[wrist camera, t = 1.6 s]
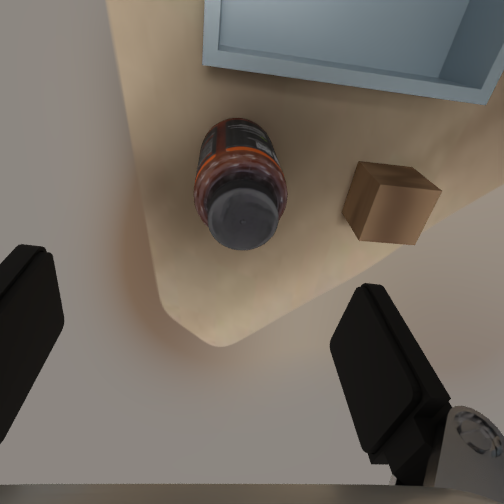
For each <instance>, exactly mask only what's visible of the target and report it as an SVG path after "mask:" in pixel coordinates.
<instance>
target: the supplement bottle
mask: <svg viewBox="0 0 504 504" xmlns="http://www.w3.org/2000/svg"><path fill="white" fill-rule="evenodd" d="M287 195H288V193H287V186H286V181H285V178H284V175H283V172H282V170H281V167H280V165H279V162H278V159H277V157H276V154H275V151H274V149H273V146H272V143H271V141H270V139H269V137H268V136H267V134H266V132H265V131H264V130H263V129H262V128H261V127H260V126H259V125H257V124H256V123H254V122H252V121H249V120H247V119H242V118H232V119H227V120H224V121H222V122H220V123H218V124H216V125H215V126H214V127H212V128H211V130H210V131H209V132H208V133H207V135H206V136H205V138H204V141H203V143H202V147H201V151H200V157H199V162H198V168H197V174H196V179H195V186H194V203H195V207H196V210H197V212H198V214H199V216H200V218H201V220H202V221H203V222H204V224H205V225H207V226H208V227H209V230H210V232H211V234H212V235H213V237H214V238H215V239H216V240H217V241H218V242H219V243H221V244H222V245H224V246H225V247H228V248H231V249H235V250H250V249H254V248H257V247H259V246H261V245H263V244H265V243H266V242H267V241H268V240H269V239H270V238H271V237H272V236H273V235H274V233H275V231H276V228H277V226H278V221H279V220H280V218H281V216H282V214H283V212H284V210H285V207H286V203H287Z"/></svg>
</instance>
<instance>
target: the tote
mask: <svg viewBox="0 0 504 504" xmlns="http://www.w3.org/2000/svg"><path fill="white" fill-rule="evenodd" d="M202 65H206V66H213V67H220V68H227V69H234V70H241V71H248V72H255V73H262V74H269V75H276V76H283V77H290V78H297V79H304V80H311V81H319V82H326V83H333V84H340V85H347V86H354V87H361V88H368V89H375V90H382V91H389V92H396V93H403V94H410V95H417V96H424V97H431V98H438V99H445V100H452V101H459V102H466V103H473V104H480V105H486V104H487V102H488V100H489V98H490V96H491V94H492V92H493V90H494V88H495V86H496V84H497V82H498V80H499V78H500V76H501V74H502V72H503V70H504V0H205V9H204V35H203V61H202Z"/></svg>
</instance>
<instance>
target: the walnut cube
mask: <svg viewBox="0 0 504 504" xmlns="http://www.w3.org/2000/svg"><path fill="white" fill-rule="evenodd" d="M441 192H442V191H441V190H440V189H439V188H438V187H436V186H435V185H434V184H433V183H431V182H430V181H429V180H428V179H426V178H425V177H424V176H423V175H421V174H420V173H419V172H418V171H416V170H415V169H414V168H413V167H406V166H397V165H388V164H379V163H370V162H362V161H359V162H358V165H357V168H356V171H355V174H354V177H353V180H352V183H351V186H350V189H349V192H348V195H347V199H346V202H345V205H344V208H343V211H342V213H343V215H344V216H345V218H346V220H347V221H348V223H349V225H350V226H351V228H352V230H353V232H354V233H355V235H356V237H357V238H358V240H359V241H370V242H382V243H394V244H406V245H415V244H416V242H417V240H418V238H419V236H420V234H421V232H422V230H423V228H424V226H425V224H426V222H427V220H428V218H429V216H430V214H431V212H432V210H433V208H434V206H435V204H436V202H437V200H438V198H439V196H440V194H441Z"/></svg>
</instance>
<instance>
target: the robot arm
mask: <svg viewBox="0 0 504 504" xmlns="http://www.w3.org/2000/svg"><path fill="white" fill-rule="evenodd" d="M63 326H64V314H63V309H62V303H61V298H60V292H59V287H58V282H57V276H56V270H55V265H54V260H53V255H52V254H51V253H49V252H47V251H46V249H45V248H44V247H41V246H32V245H24V244H21V245H18V246H17V247H16V248H15V249H14V250H13V251H12V252H11V253H10V254H9V255H8V256H7V257H6V258H5V260H4V261H3V262H2V263H1V264H0V444H1V442H2V441H3V440H4V438H5V436H6V434H7V432H8V431H9V429H10V427H11V425H12V423H13V421H14V419H15V417H16V416H17V414H18V412H19V410H20V408H21V406H22V404H23V403H24V401H25V399H26V397H27V395H28V393H29V391H30V389H31V387H32V386H33V384H34V382H35V380H36V378H37V376H38V374H39V372H40V370H41V369H42V367H43V365H44V363H45V361H46V359H47V357H48V356H49V353H50V352H51V350H52V348H53V346H54V344H55V342H56V340H57V338H58V337H59V335H60V333H61V331H62V329H63ZM330 351H331V354H332V357H333V360H334V364H335V366H336V369H337V373H338V376H339V379H340V382H341V385H342V388H343V392H344V395H345V397H346V401H347V404H348V407H349V410H350V413H351V416H352V419H353V422H354V426H355V429H356V432H357V435H358V438H359V441H360V444H361V447H362V449H363V451H365V452H366V453H368V456H369V459H370V462H371V464H389V466H390V469H391V471H392V476H391V479H390V483H389V485H340V484H23V485H0V504H504V436H503V435H502V433H501V432H500V431H499V429H498V428H497V427H496V426H495V425H494V424H493V423H492V422H491V421H490V420H489V419H488V418H487V417H485V416H484V415H483V414H481V413H480V412H478V411H475V410H474V409H472V408H469V407H465V406H455V407H453V408H452V407H451V405H450V403H449V400H450V399H451V398H450V396H449V394H448V393H447V391H446V390H445V388H444V386H443V385H442V383H441V381H440V380H439V378H438V376H437V375H436V373H435V371H434V370H433V368H432V367H431V365H430V363H429V361H428V360H427V358H426V356H425V355H424V353H423V351H422V350H421V348H420V346H419V345H418V343H417V341H416V340H415V338H414V336H413V335H412V333H411V332H410V330H409V328H408V326H407V325H406V323H405V321H404V320H403V318H402V316H401V315H400V313H399V311H398V310H397V308H396V306H395V305H394V303H393V302H392V300H391V298H390V296H389V295H388V293H387V292H386V290H385V288H384V287H383V286H382V285H377V284H368V283H364V284H362V285H361V287H358V288H356V290H355V292H354V294H353V296H352V298H351V300H350V302H349V304H348V306H347V308H346V310H345V312H344V314H343V316H342V318H341V320H340V322H339V324H338V326H337V328H336V330H335V332H334V334H333V336H332V338H331V341H330Z"/></svg>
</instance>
